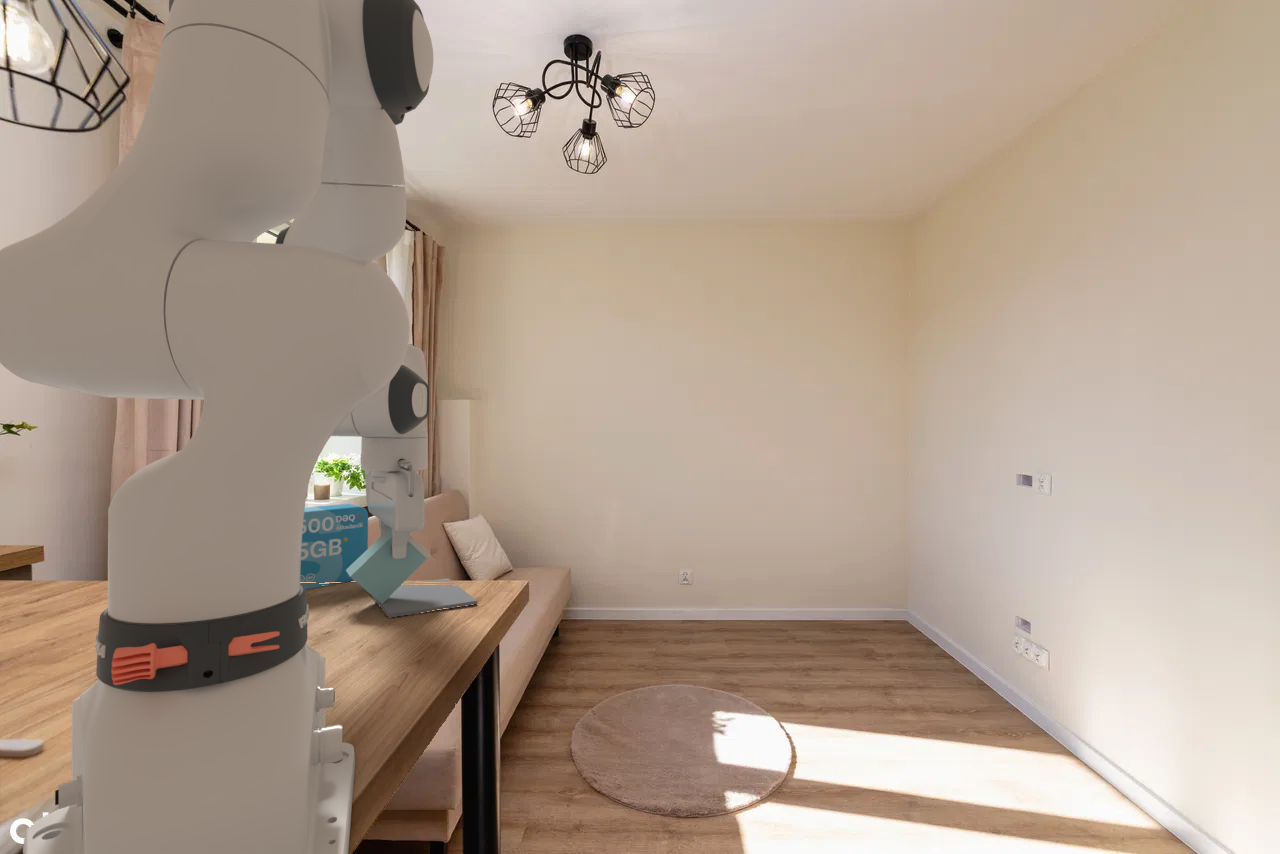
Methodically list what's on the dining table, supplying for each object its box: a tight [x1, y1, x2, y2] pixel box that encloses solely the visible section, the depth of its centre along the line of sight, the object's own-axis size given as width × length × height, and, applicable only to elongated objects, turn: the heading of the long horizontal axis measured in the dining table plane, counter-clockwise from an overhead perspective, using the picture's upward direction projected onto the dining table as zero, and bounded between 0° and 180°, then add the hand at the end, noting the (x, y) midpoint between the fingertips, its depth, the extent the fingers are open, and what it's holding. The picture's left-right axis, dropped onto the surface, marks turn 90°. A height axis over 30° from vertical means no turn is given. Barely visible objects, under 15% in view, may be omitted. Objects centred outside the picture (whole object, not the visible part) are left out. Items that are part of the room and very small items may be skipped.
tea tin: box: [346, 527, 432, 604], centre depth 89 cm, size 4×6×9 cm
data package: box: [300, 503, 369, 591], centre depth 99 cm, size 12×4×12 cm, turn 139°
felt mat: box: [371, 577, 478, 619], centre depth 92 cm, size 14×12×1 cm
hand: (393, 553), depth 89 cm, fingers open, 5 cm apart
